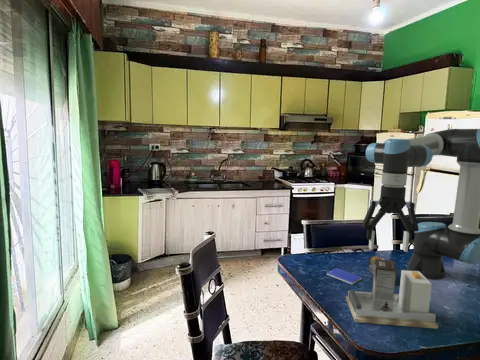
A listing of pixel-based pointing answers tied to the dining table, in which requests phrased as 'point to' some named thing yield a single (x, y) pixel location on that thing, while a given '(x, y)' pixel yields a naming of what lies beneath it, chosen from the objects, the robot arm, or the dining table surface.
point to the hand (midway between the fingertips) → (387, 249)
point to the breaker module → (414, 292)
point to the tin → (372, 263)
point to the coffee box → (383, 284)
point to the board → (391, 322)
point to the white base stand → (363, 308)
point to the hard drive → (344, 276)
